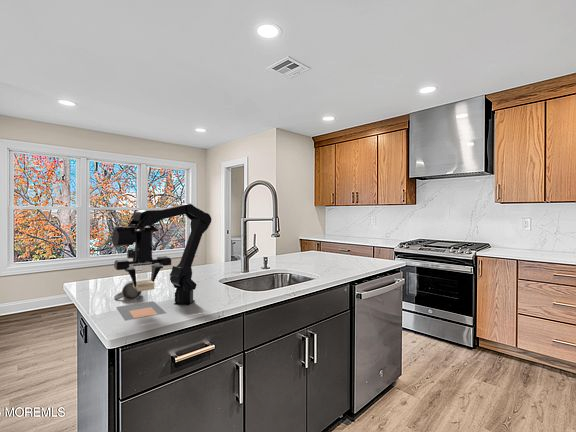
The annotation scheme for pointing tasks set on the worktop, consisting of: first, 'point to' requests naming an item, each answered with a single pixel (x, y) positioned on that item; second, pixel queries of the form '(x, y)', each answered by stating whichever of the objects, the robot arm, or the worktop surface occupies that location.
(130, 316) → the mat
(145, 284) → the card box
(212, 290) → the worktop surface
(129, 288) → the ceramic mug
